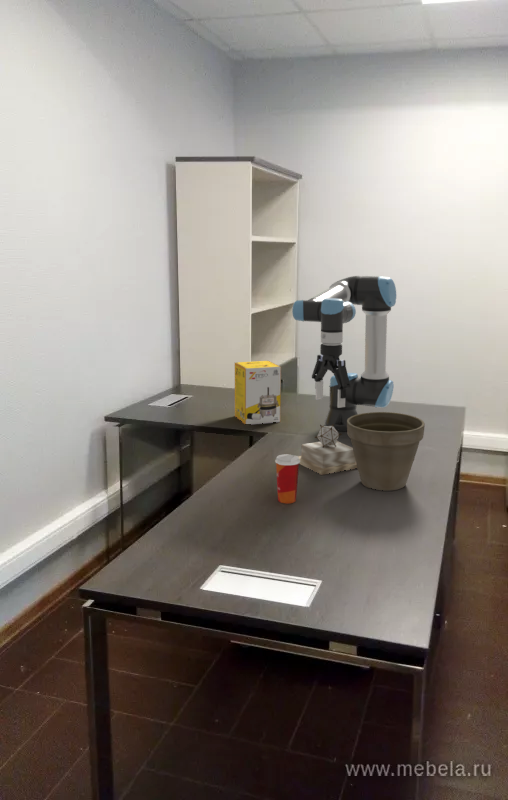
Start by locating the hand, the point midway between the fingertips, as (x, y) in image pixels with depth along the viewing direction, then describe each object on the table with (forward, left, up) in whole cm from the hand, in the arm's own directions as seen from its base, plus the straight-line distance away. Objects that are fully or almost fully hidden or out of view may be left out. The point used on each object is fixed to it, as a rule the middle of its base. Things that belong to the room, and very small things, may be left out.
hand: (330, 403), depth 250 cm
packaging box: (-9, -69, -23) cm, 73 cm away
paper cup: (+32, +24, -23) cm, 46 cm away
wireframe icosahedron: (0, 0, -16) cm, 16 cm away
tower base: (0, 0, -23) cm, 23 cm away
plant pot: (-4, +26, -23) cm, 35 cm away
